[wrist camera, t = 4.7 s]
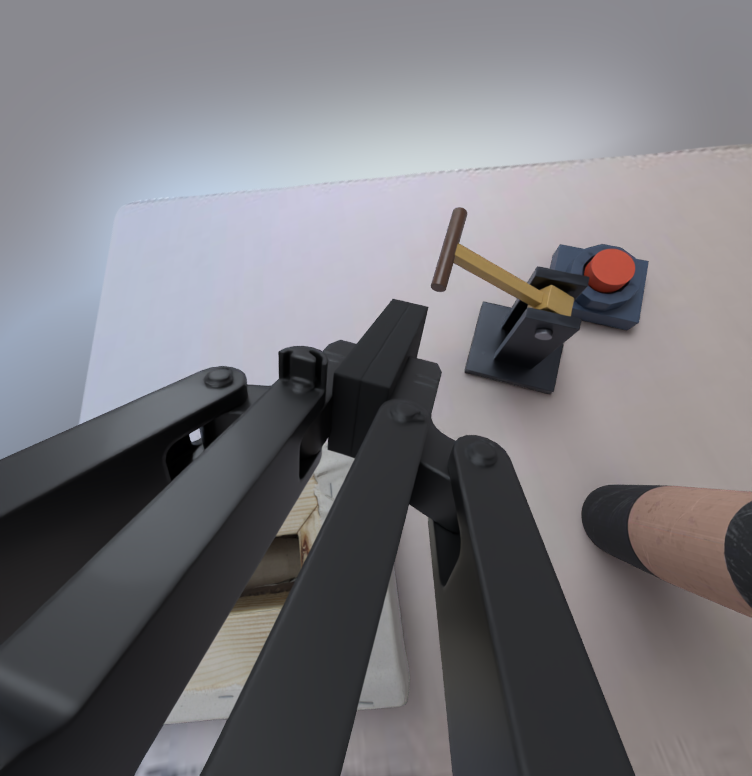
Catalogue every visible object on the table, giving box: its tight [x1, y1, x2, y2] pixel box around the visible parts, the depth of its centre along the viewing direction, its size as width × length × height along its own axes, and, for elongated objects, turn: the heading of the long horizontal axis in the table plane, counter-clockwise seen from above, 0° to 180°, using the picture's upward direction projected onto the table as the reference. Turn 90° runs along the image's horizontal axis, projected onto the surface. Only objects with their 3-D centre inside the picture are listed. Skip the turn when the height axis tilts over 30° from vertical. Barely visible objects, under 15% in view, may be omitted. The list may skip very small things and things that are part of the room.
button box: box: [550, 244, 649, 330], centre depth 40 cm, size 10×8×4 cm
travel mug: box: [582, 485, 752, 618], centre depth 27 cm, size 8×8×20 cm
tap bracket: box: [464, 267, 589, 394], centre depth 35 cm, size 10×9×13 cm
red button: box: [584, 249, 635, 293], centre depth 38 cm, size 4×4×2 cm
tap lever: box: [431, 208, 574, 316], centre depth 29 cm, size 13×7×2 cm, turn 74°
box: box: [164, 442, 410, 725], centre depth 35 cm, size 23×8×32 cm
